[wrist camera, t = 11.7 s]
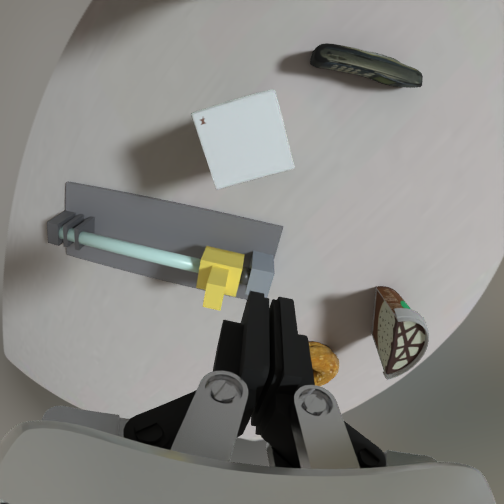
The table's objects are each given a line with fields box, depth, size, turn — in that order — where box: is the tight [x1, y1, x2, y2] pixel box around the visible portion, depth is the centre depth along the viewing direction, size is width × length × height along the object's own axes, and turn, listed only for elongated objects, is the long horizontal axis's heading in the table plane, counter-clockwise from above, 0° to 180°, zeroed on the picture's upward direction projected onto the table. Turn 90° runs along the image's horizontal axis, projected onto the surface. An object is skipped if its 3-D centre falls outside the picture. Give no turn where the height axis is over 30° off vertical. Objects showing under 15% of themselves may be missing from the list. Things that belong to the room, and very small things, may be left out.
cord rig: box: [47, 182, 283, 300], centre depth 40 cm, size 12×32×6 cm, turn 77°
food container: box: [371, 286, 429, 380], centre depth 41 cm, size 12×6×10 cm, turn 8°
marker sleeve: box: [196, 246, 245, 310], centre depth 37 cm, size 4×5×8 cm
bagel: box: [309, 342, 339, 386], centre depth 49 cm, size 10×11×5 cm
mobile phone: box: [310, 44, 422, 87], centre depth 29 cm, size 5×3×15 cm
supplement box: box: [191, 90, 295, 190], centre depth 30 cm, size 7×7×13 cm
